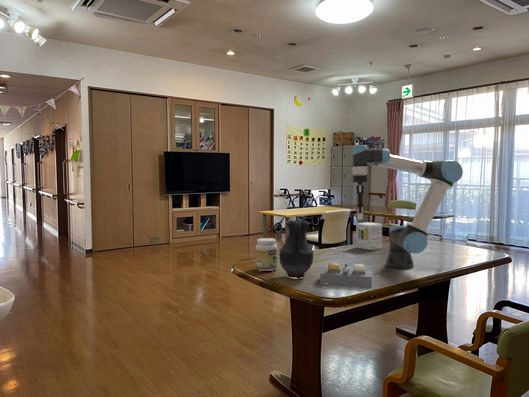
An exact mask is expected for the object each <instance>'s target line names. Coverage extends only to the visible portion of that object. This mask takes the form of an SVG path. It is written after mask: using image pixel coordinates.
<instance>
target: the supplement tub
mask: <svg viewBox="0 0 529 397" xmlns="http://www.w3.org/2000/svg"><path fill="white" fill-rule="evenodd" d="M256 243H257V244H256V245H255V269H256V268H257V269H261V270H273V269H277V270H278V244H277V239H275V238H269V237H267V238H266V237H262V238H257V239H256Z"/></svg>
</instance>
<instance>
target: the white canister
mask: <svg viewBox="0 0 529 397" xmlns="http://www.w3.org/2000/svg"><path fill="white" fill-rule="evenodd" d="M355 226H356V228H355V248H356V247H357V249H361V248H362V250H366V249H367V250H366V251H373V250H378V249H379V248H380V249H382V246H383V243H382V242H383V240H382V239H383V223H378V222H377V223H376V222H368V221H367V222H359V223H356V224H355Z"/></svg>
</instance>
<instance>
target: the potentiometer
mask: <svg viewBox="0 0 529 397" xmlns="http://www.w3.org/2000/svg"><path fill="white" fill-rule="evenodd" d="M342 269H343V274H349V270H350V266H348V264H347V263H345V264H344V266H343V267H342Z"/></svg>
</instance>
